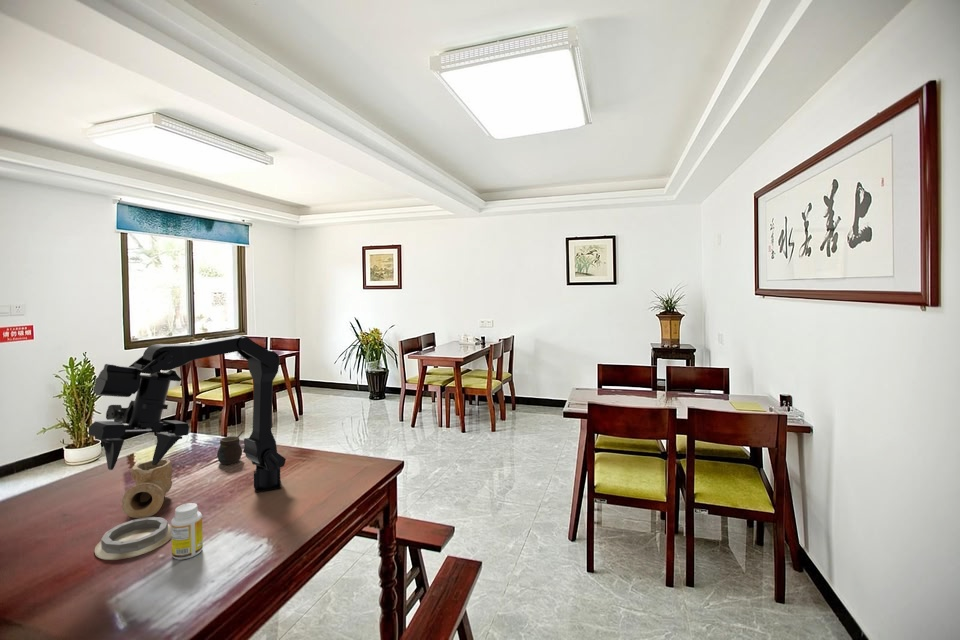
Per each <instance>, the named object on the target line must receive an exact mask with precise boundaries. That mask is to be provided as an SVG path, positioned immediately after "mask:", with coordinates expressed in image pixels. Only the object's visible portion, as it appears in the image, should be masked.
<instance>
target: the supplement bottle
mask: <svg viewBox="0 0 960 640" xmlns="http://www.w3.org/2000/svg"><path fill="white" fill-rule="evenodd" d="M174 510H175V511H174V516H173V517H172V518H171V520H170V525H171V556H172V558H174V559H175V560H178V561H179V560H182V561H183V560H187V559H191V558H194V557H196V556H197V555H198V554H200V553H201V552H202V550H203V547H204V544H203V543H204V541H203V537H204V536H203V535H204V533H203V515H202V512H200V511H199V509H198V504H197V503H196V502H195V503H194V502H189V503H188V502H187V503H183V504H181V505H179V506H177V507H176V508H175V509H174Z"/></svg>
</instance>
